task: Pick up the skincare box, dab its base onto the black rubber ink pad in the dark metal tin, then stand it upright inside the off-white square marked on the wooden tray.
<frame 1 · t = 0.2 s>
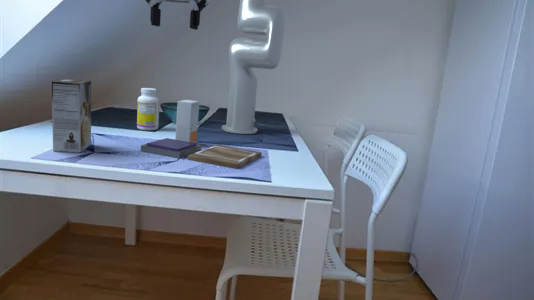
hand: (174, 27, 96), 30 cm above the table, tool pointing down, fingers open, 9 cm apart
skincare box: (186, 144, 115), on the table
ink pad: (172, 150, 105), on the table
supplement bottle: (147, 129, 131), on the table
wooden tray: (226, 157, 104), on the table
coffee box: (72, 148, 98), on the table
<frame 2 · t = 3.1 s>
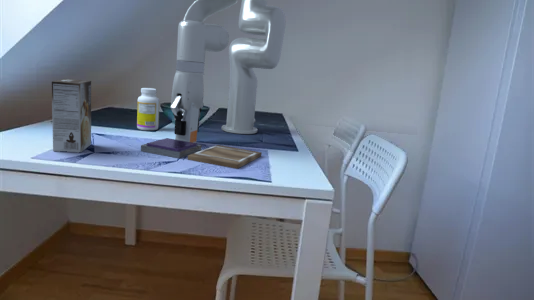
hand: (186, 132, 115), 3 cm above the table, tool pointing down, fingers closed on skincare box, 6 cm apart
skincare box: (186, 144, 115), on the table, touching gripper
everything else where it was.
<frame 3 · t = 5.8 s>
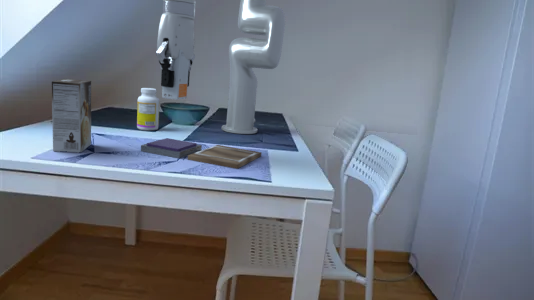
hand: (175, 85, 102), 17 cm above the table, tool pointing down, fingers closed on skincare box, 6 cm apart
skincare box: (174, 99, 102), point 13 cm above the table, touching gripper
everything else where it was.
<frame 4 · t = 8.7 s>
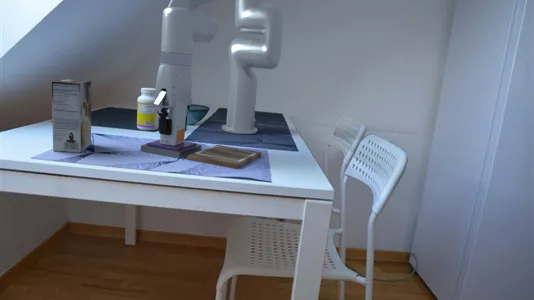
hand: (173, 131, 104), 5 cm above the table, tool pointing down, fingers closed on skincare box, 6 cm apart
skincare box: (172, 143, 105), point 2 cm above the table, touching gripper, ink pad
everything else where it was.
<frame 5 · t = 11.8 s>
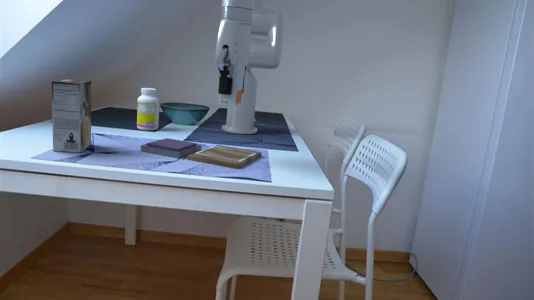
hand: (231, 92, 100), 16 cm above the table, tool pointing down, fingers closed on skincare box, 6 cm apart
skincare box: (230, 105, 101), point 13 cm above the table, touching gripper
everything else where it was.
when the fingers open (5 cm above the table, at t = 14.3 s): skincare box drops 1 cm, resting on wooden tray.
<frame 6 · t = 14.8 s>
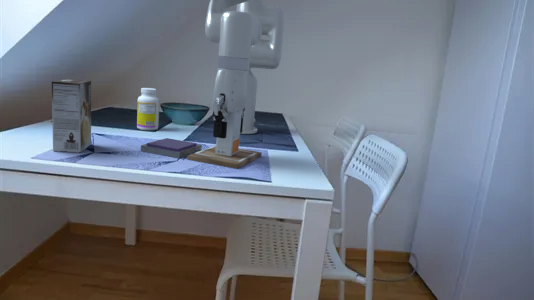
hand: (228, 134, 102), 6 cm above the table, tool pointing down, fingers open, 9 cm apart
skincare box: (227, 154, 104), point 1 cm above the table, touching wooden tray
everything else where it was.
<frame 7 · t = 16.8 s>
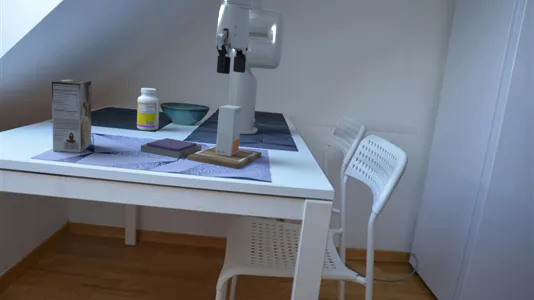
hand: (231, 72, 104), 21 cm above the table, tool pointing down, fingers open, 9 cm apart
nothing on the table moved.
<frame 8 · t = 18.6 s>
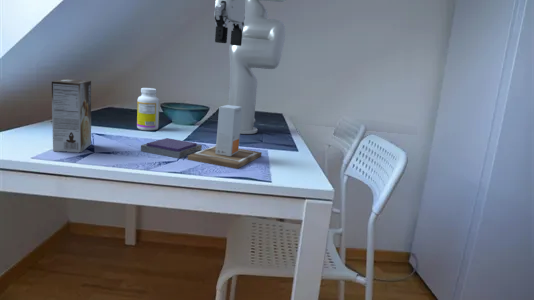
hand: (228, 44, 113), 28 cm above the table, tool pointing down, fingers open, 9 cm apart
nothing on the table moved.
at the end: skincare box inside the target area on the wooden tray (0.5 cm from its centre), point 0.8 cm above the wooden tray's base; skincare box tilted 0°; the gripper is holding nothing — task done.
